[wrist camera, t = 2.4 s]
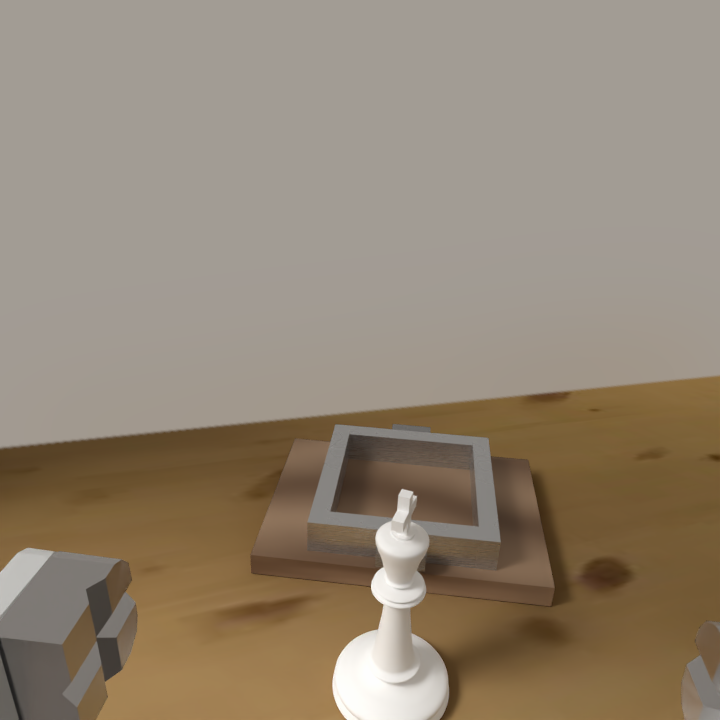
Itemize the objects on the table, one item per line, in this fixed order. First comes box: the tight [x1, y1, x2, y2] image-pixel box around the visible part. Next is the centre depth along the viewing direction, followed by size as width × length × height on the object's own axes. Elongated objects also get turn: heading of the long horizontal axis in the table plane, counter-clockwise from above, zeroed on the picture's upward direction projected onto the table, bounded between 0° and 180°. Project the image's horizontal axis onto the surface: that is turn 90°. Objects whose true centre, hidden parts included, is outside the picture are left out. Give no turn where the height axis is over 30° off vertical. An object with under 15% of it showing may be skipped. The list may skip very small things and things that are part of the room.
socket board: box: [251, 438, 555, 606], centre depth 37 cm, size 11×15×1 cm
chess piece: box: [332, 489, 449, 720], centre depth 25 cm, size 5×5×10 cm
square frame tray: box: [307, 424, 501, 572], centre depth 37 cm, size 12×10×2 cm
